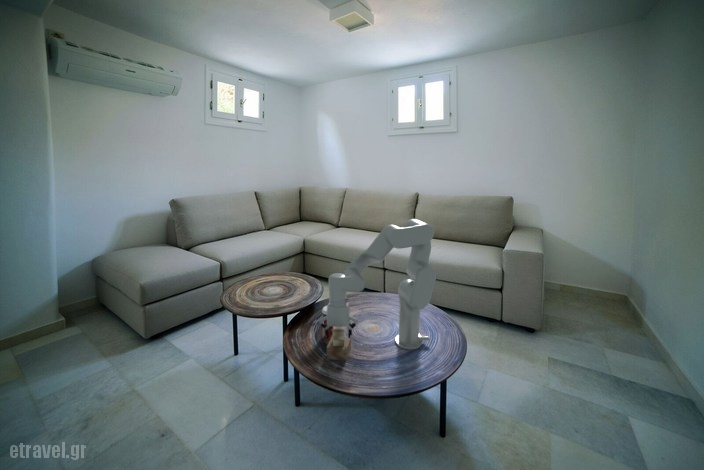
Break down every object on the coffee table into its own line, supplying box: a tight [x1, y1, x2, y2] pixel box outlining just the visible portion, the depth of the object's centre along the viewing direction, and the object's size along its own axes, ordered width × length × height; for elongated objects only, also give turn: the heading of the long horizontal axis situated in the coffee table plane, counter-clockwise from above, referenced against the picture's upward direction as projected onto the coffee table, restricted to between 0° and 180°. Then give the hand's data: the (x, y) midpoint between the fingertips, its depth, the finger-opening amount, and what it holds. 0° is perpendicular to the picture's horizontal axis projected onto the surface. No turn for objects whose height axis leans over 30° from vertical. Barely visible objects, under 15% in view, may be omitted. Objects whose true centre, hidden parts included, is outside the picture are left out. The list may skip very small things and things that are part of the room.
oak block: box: [333, 326, 346, 346], centre depth 135 cm, size 5×5×7 cm
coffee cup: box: [321, 304, 333, 339], centre depth 151 cm, size 8×8×15 cm
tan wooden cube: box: [326, 336, 352, 362], centre depth 137 cm, size 9×9×6 cm
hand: (338, 336), depth 136 cm, fingers open, 9 cm apart
